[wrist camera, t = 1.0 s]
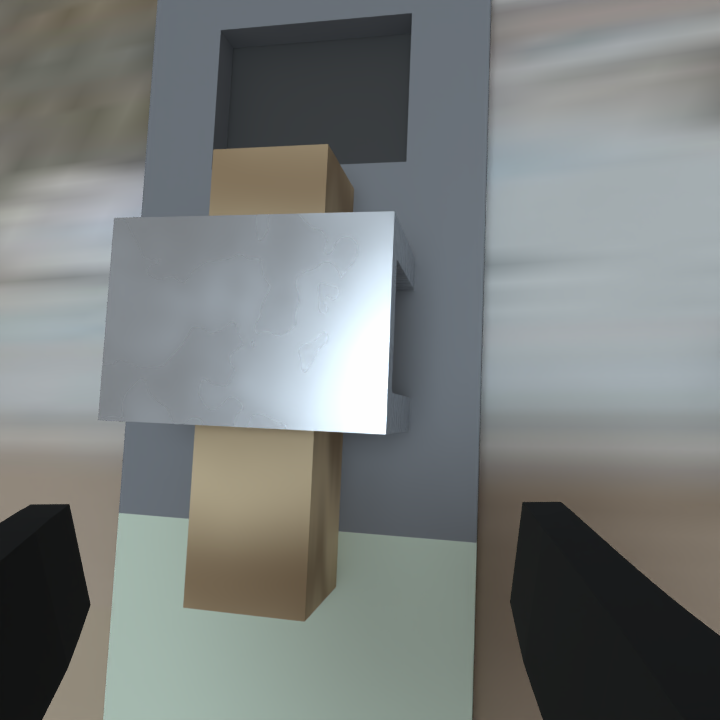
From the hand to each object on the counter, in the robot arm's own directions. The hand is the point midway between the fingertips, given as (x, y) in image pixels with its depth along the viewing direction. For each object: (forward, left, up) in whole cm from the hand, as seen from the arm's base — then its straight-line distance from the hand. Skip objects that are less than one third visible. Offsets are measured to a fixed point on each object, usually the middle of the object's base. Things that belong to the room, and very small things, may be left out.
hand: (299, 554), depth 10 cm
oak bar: (+3, +4, -13) cm, 14 cm away
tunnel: (+5, +4, -13) cm, 14 cm away
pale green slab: (+1, +4, -14) cm, 15 cm away
